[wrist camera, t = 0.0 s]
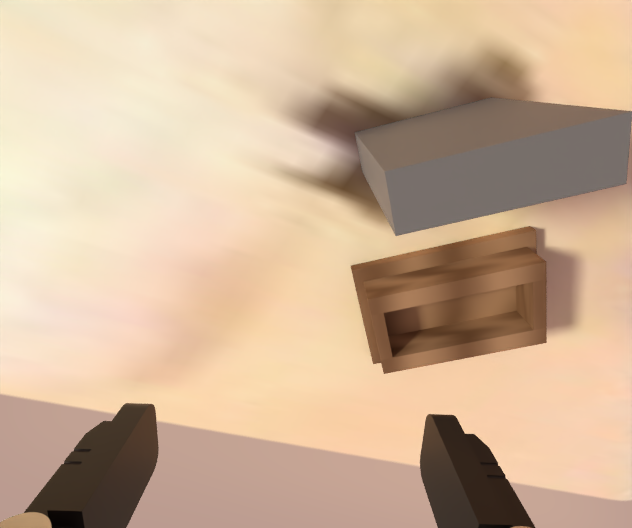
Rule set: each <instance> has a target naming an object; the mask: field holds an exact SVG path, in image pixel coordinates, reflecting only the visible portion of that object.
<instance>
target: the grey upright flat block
mask: <svg viewBox="0 0 632 528" xmlns="http://www.w3.org/2000/svg"><path fill="white" fill-rule="evenodd" d="M631 121H632V111H623V110H612V109H602V108H592V107H582V106H571V105H561V104H551V103H541V102H531V101H520V100H510V99H500V98H488V99H484V100H480V101H476V102H472V103H468V104H464V105H460V106H456V107H452V108H449V109H445V110H441V111H437V112H433V113H429V114H425V115H421V116H417V117H413V118H409V119H405V120H401V121H397V122H393V123H390V124H386V125H382V126H378V127H374V128H370V129H366V130H362V131H358V132H355V136H356V141H357V146H358V152H359V157H360V162H361V167H362V172H363V174H364V176H365V178H366V180H367V181H368V183H369V185H370V187H371V189H372V191H373V193H374V195H375V197H376V199H377V201H378V203H379V205H380V207H381V208H382V210H383V212H384V214H385V216H386V218H387V220H388V222H389V224H390V226H391V228H392V230H393V232H394V233H395V235H396V236H398V235H402V234H407V233H411V232H416V231H420V230H424V229H429V228H433V227H438V226H442V225H447V224H451V223H455V222H460V221H464V220H469V219H473V218H478V217H482V216H486V215H491V214H495V213H500V212H504V211H508V210H513V209H517V208H522V207H526V206H531V205H535V204H539V203H544V202H548V201H553V200H557V199H562V198H566V197H570V196H575V195H579V194H584V193H588V192H593V191H597V190H601V189H606V188H610V187H615V186H619V185H624V184H626V181H627V169H628V157H629V145H630V133H631Z"/></svg>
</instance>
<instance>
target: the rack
mask: <svg viewBox="0 0 632 528" xmlns="http://www.w3.org/2000/svg"><path fill="white" fill-rule="evenodd" d="M351 269H352V274H353V278H354V283H355V287H356V291H357V296H358V300H359V304H360V309H361V313H362V317H363V322H364V326H365V330H366V335H367V339H368V343H369V348H370V352H371V356H372V361H373V364H376V363H382V368H383V372H384V374H385V373H391V372H396V371H401V370H406V369H412V368H417V367H422V366H427V365H432V364H438V363H443V362H448V361H453V360H459V359H464V358H469V357H474V356H479V355H485V354H490V353H495V352H500V351H506V350H511V349H516V348H521V347H526V346H532V345H537V344H542V343H546V261H544V260H543V259H542V258H541V257H539V256H538V255H537V254H536V230H535V229H533V228H532V227H530V226H529V227H524V228H520V229H515V230H511V231H506V232H502V233H497V234H493V235H488V236H484V237H479V238H474V239H470V240H465V241H461V242H456V243H452V244H447V245H443V246H438V247H434V248H429V249H425V250H420V251H416V252H411V253H406V254H402V255H397V256H393V257H388V258H384V259H379V260H375V261H370V262H366V263H361V264H357V265H352V266H351Z"/></svg>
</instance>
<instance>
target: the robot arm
mask: <svg viewBox="0 0 632 528" xmlns="http://www.w3.org/2000/svg"><path fill="white" fill-rule="evenodd" d="M157 458H158V437H157V424H156V412H155V407H154V405H153V404H134V403H126V404H124V405H123V406H122V408H121V409H120V411H119V412H118V413H117V415H116V416H115V417H114V419H113V420H112V421H103V422H102V423H100V424H99V425H97V426H96V427H94V428H93V429H92V430H90V431H89V432H88V433H86V434H85V435H84V437H83V438H82V439H81V441H80V442H79V443H78V445H77V446H76V447H75V449H74V451H73V452H71V453H70V455H69V456H68V457H67V458H66V460H65V462H64V464H62V465H61V466H60V467H59V469H58V470H57V471H56V472H55V474H54V475H53V476H52V478H51V479H50V480H49V482H48V483H47V484H46V485H45V487H44V488H43V489H42V490H41V492H40V493H39V494H38V495H37V497H36V498H35V499H34V501H33V502H32V503H31V504H30V506H29V507H28V508H27V509H26V511H25V512H24V513H22V514H18V515H15V516H12V517H10V518H8V519H6V520H3V521H2V522H0V528H126V527H127V525H128V523H129V521H130V519H131V517H132V515H133V513H134V511H135V508H136V507H137V505H138V503H139V500H140V498H141V496H142V494H143V492H144V490H145V488H146V486H147V484H148V482H149V480H150V477H151V476H152V474H153V472H154V469H155V466H156V463H157ZM420 469H421V476H422V480H423V483H424V486H425V489H426V493H427V495H428V499H429V502H430V505H431V508H432V511H433V514H434V517H435V520H436V523H437V526H438V528H535V527H534V524H533V523H532V521H531V519H530V518H529V516H528V514H527V512H526V511H525V509H524V507H523V506H522V504H521V502H520V500H519V499H518V497H517V495H516V493H515V492H514V490H513V488H512V487H511V485H510V483H509V481H508V480H507V479H506V478H505V474H504V473H503V471H502V469H501V468H500V466H498V462H497V461H496V459H495V457H494V456H493V454H492V452H491V450H490V449H489V447H488V446H487V445H485V444H484V443H483V442H482V441H481V440H480V439H479V438H478V437H477V436H476V435H474V434H465V433H464V431H463V429H462V427H461V425H460V424H459V422H458V420H457V418H456V417H455V416H454V415H436V414H428V415H427V417H426V422H425V429H424V436H423V442H422V449H421V456H420Z"/></svg>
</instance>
